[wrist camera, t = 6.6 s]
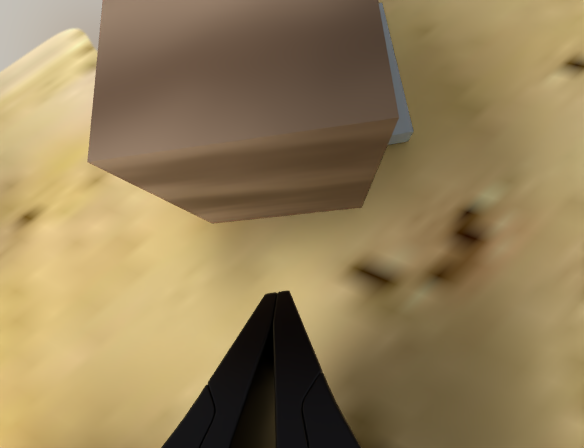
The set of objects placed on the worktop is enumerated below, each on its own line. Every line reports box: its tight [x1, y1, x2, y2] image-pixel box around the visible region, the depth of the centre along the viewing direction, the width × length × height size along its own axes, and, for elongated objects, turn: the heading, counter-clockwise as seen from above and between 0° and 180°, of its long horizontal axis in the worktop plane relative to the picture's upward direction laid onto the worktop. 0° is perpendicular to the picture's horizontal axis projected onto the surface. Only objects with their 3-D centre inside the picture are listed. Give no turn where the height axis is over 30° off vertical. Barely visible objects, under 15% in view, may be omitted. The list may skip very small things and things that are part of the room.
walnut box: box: [88, 0, 399, 223], centre depth 15 cm, size 16×10×10 cm, turn 4°
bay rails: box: [379, 3, 414, 145], centre depth 19 cm, size 10×16×1 cm, turn 97°
